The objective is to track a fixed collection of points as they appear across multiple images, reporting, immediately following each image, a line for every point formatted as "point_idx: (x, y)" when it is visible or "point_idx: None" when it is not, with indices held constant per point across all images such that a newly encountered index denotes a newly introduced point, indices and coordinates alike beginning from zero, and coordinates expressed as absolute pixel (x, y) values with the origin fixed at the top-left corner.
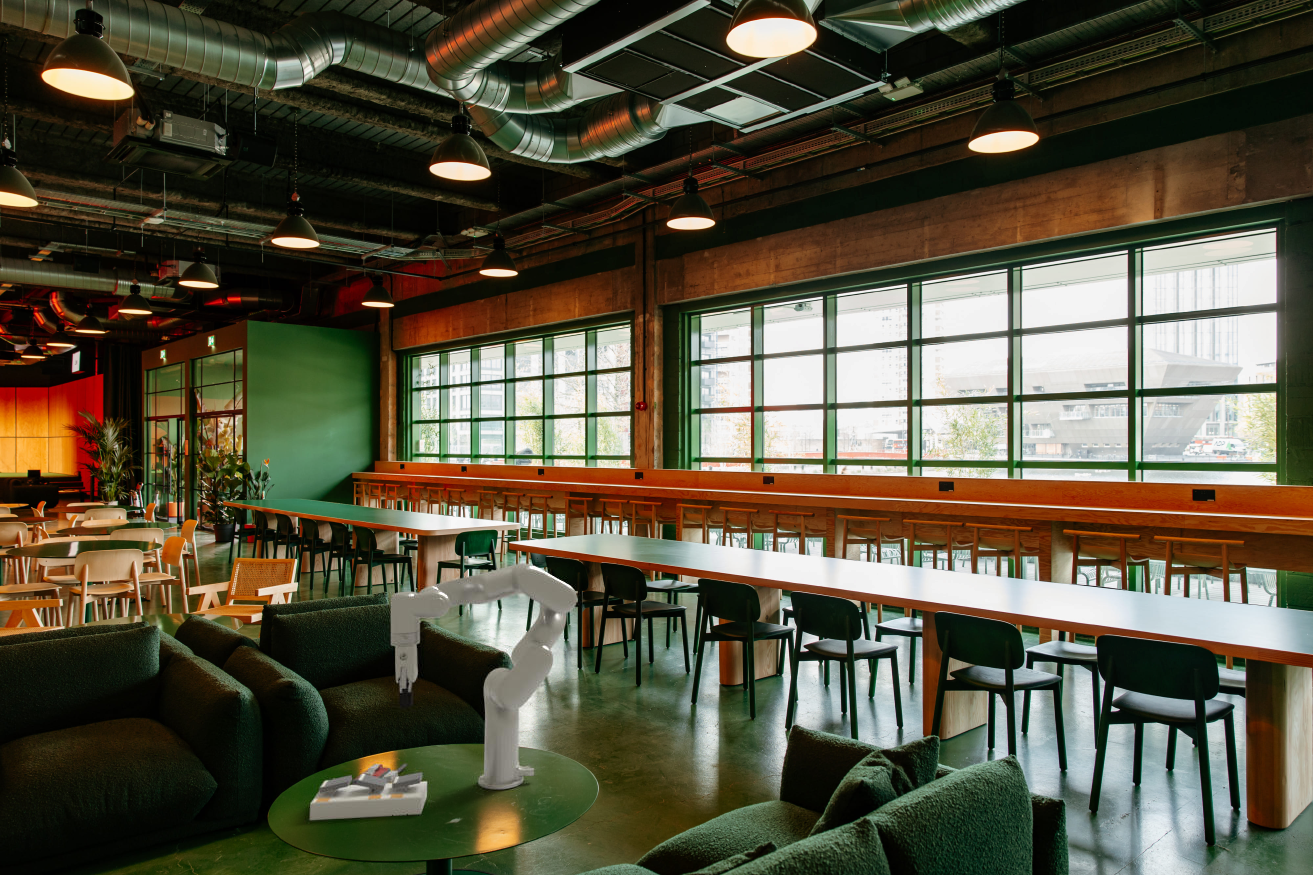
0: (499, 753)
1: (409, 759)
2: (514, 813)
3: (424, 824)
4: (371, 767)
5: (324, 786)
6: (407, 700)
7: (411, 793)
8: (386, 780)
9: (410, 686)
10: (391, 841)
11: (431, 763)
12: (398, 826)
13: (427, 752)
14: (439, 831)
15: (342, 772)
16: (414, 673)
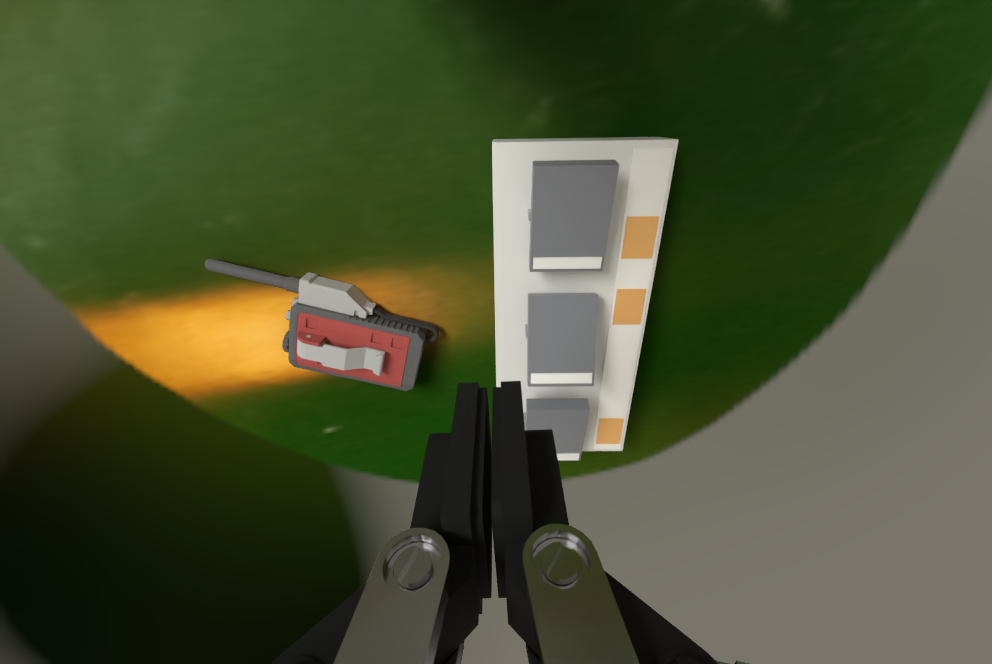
0: None
1: (125, 260)
2: None
3: (759, 108)
4: (337, 363)
5: (575, 452)
6: (557, 461)
7: (618, 187)
8: (541, 296)
9: (574, 625)
10: (849, 201)
11: (143, 170)
12: (739, 198)
13: (24, 205)
14: (851, 35)
15: (284, 421)
16: None
